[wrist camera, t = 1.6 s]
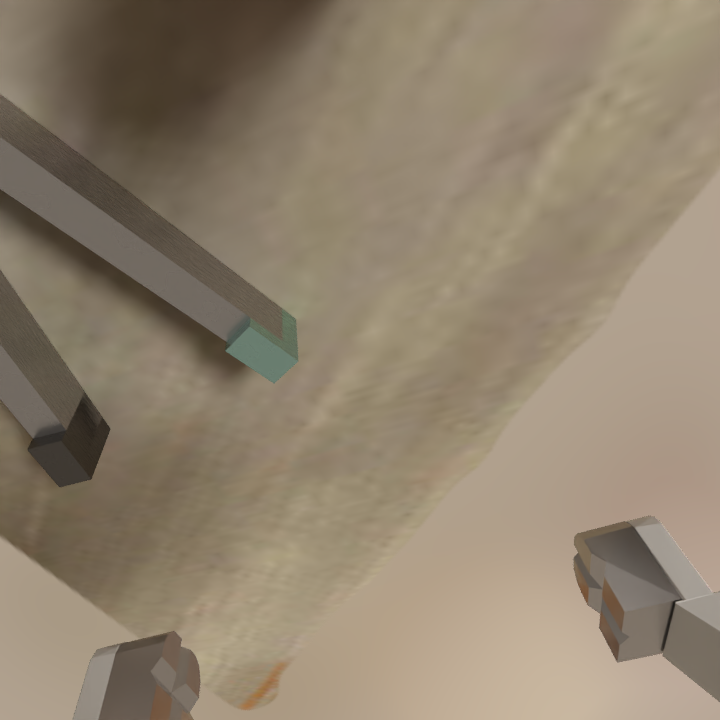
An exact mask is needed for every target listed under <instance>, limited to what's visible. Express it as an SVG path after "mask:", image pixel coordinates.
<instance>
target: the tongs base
mask: <svg viewBox="0 0 720 720" xmlns="http://www.w3.org/2000/svg"><path fill="white" fill-rule="evenodd" d="M0 399H1V401H2V402H3V403H4V404H5V405H6V407H7V408H8V409H9V410H10V411H11V413H12V414H13V415H14V416H15V417H16V419H17V420H18V421H19V422H20V423H21V425H22V426H23V427H24V428H25V429H26V431H27V432H28V433H29V434H30V435H31V437H32V438H33V440H32V442H31V443H30V445H29V447H28V449H27V450H28V451H29V452H30V453H31V455H32V456H33V457H34V458H35V459H36V460H37V462H38V463H39V464H40V465H41V466H42V467H43V469H44V470H45V471H46V472H47V473H48V474H49V476H50V477H51V478H52V479H53V480H54V482H55V483H56V484H57V485H58V486H59V487H63V486H67V485H71V484H75V483H79V482H83V481H87V480H91V479H92V476H93V474H94V471H95V468H96V466H97V463H98V460H99V458H100V455H101V452H102V450H103V447H104V445H105V442H106V439H107V437H108V434H109V431H110V428H109V426H108V425H107V423H106V422H105V421H104V419H103V418H102V416H101V415H100V413H99V412H98V410H97V409H96V408H95V406H94V405H93V403H92V402H91V400H90V399H89V398H88V396H87V395H86V393H85V392H84V390H83V389H82V387H81V386H80V385H79V383H78V382H77V380H76V379H75V377H74V376H73V374H72V373H71V372H70V370H69V369H68V367H67V366H66V364H65V363H64V362H63V360H62V359H61V357H60V356H59V354H58V353H57V351H56V350H55V349H54V347H53V346H52V344H51V343H50V341H49V340H48V338H47V337H46V336H45V334H44V333H43V331H42V330H41V328H40V327H39V326H38V324H37V323H36V321H35V320H34V318H33V317H32V315H31V314H30V313H29V311H28V310H27V308H26V307H25V305H24V304H23V303H22V301H21V300H20V298H19V297H18V295H17V294H16V292H15V291H14V290H13V288H12V287H11V285H10V284H9V282H8V281H7V279H6V278H5V277H4V275H3V274H2V272H1V271H0Z"/></svg>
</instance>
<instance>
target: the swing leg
mask: <svg viewBox="0 0 720 720" xmlns="http://www.w3.org/2000/svg"><path fill="white" fill-rule="evenodd" d="M0 189H1V190H2V191H4V192H5V193H7V194H8V195H10V196H11V197H13V198H14V199H16V200H17V201H19V202H20V203H22V204H23V205H25V206H26V207H27V208H29V209H30V210H32V211H33V212H35V213H36V214H38V215H39V216H41V217H42V218H44V219H45V220H47V221H48V222H50V223H51V224H53V225H54V226H56V227H57V228H59V229H60V230H62V231H63V232H65V233H66V234H67V235H69V236H70V237H72V238H73V239H75V240H76V241H78V242H79V243H81V244H82V245H84V246H85V247H87V248H88V249H90V250H91V251H93V252H94V253H96V254H97V255H99V256H100V257H102V258H103V259H105V260H106V261H107V262H109V263H110V264H112V265H113V266H115V267H116V268H118V269H119V270H121V271H122V272H124V273H125V274H127V275H128V276H130V277H131V278H133V279H134V280H136V281H137V282H139V283H140V284H142V285H143V286H145V287H146V288H147V289H149V290H150V291H152V292H153V293H155V294H156V295H158V296H159V297H161V298H162V299H164V300H165V301H167V302H168V303H170V304H171V305H173V306H174V307H176V308H177V309H179V310H180V311H182V312H183V313H185V314H186V315H187V316H189V317H190V318H192V319H193V320H195V321H196V322H198V323H199V324H201V325H202V326H204V327H205V328H207V329H208V330H210V331H211V332H213V333H214V334H216V335H217V336H219V337H220V338H222V339H223V340H225V341H226V349H225V351H226V352H227V353H229V354H230V355H232V356H233V357H235V358H236V359H238V360H239V361H241V362H242V363H244V364H245V365H247V366H248V367H250V368H251V369H253V370H254V371H256V372H257V373H259V374H260V375H262V376H264V377H265V378H267V379H268V380H270V381H271V382H273V383H275V382H276V381H277V380H279V379H280V378H281V377H282V376H283V375H284V374H285V373H286V372H287V371H288V370H289V369H290V368H292V367H293V366H294V365H295V364H296V363H297V362H298V347H297V329H296V319H295V318H293V317H292V316H291V315H289V314H288V313H287V312H285V311H284V310H283V309H282V308H280V307H279V306H278V305H276V304H275V303H274V302H272V301H271V300H270V299H268V298H267V297H266V296H264V295H263V294H262V293H260V292H259V291H258V290H257V289H255V288H254V287H253V286H251V285H250V284H249V283H247V282H246V281H245V280H243V279H242V278H241V277H239V276H238V275H237V274H236V273H234V272H233V271H232V270H230V269H229V268H228V267H226V266H225V265H224V264H222V263H221V262H220V261H218V260H217V259H216V258H214V257H213V256H212V255H211V254H209V253H208V252H207V251H205V250H204V249H203V248H201V247H200V246H199V245H197V244H196V243H195V242H193V241H192V240H191V239H190V238H188V237H187V236H186V235H184V234H183V233H182V232H180V231H179V230H178V229H176V228H175V227H174V226H172V225H171V224H170V223H168V222H167V221H166V220H165V219H163V218H162V217H161V216H159V215H158V214H157V213H155V212H154V211H153V210H151V209H150V208H149V207H147V206H146V205H145V204H144V203H142V202H141V201H140V200H138V199H137V198H136V197H134V196H133V195H132V194H130V193H129V192H128V191H126V190H125V189H124V188H122V187H121V186H120V185H119V184H117V183H116V182H115V181H113V180H112V179H111V178H109V177H108V176H107V175H105V174H104V173H103V172H101V171H100V170H99V169H98V168H96V167H95V166H94V165H92V164H91V163H90V162H88V161H87V160H86V159H84V158H83V157H82V156H80V155H79V154H78V153H76V152H75V151H74V150H73V149H71V148H70V147H69V146H67V145H66V144H65V143H63V142H62V141H61V140H59V139H58V138H57V137H55V136H54V135H53V134H52V133H50V132H49V131H48V130H46V129H45V128H44V127H42V126H41V125H40V124H38V123H37V122H36V121H34V120H33V119H32V118H31V117H29V116H28V115H27V114H25V113H24V112H23V111H21V110H20V109H19V108H17V107H16V106H15V105H13V104H12V103H11V102H9V101H8V100H7V99H6V98H4V97H3V96H2V95H0Z"/></svg>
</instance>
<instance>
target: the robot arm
mask: <svg viewBox="0 0 720 720" xmlns="http://www.w3.org/2000/svg"><path fill="white" fill-rule="evenodd" d="M574 545H575V547H576V549H577V551H578V554H577V555H576V556H575V557H574V571H575V575H576V579H577V583H578V585H579V588H580V590H581V593H582V594H583V597H584V599H585V601H586V602H587V605H588V606H590V607H592V608H593V609H594V610H595V611H597V612H598V613H600V624H599V628H600V630H601V632H602V634H603V636H604V638H605V640H606V642H607V644H608V646H609V647H610V649H611V651H612V653H613V655H614V657H615V659H616V661H617V662H622V661H627V660H632V659H637V658H641V657H647V656H652V655H656V654H661V653H663V657H665V658H666V659H667V660H668V661H670V662H671V663H672V664H673V665H674V666H676V667H677V668H678V669H679V670H681V671H682V672H683V673H684V674H686V675H687V676H688V677H689V678H691V679H692V680H693V681H694V682H695V683H697V684H698V685H699V686H701V687H702V688H703V689H704V690H705V691H707V692H708V693H709V694H710V695H712V696H713V697H714V698H715V699H717V700H718V701H719V702H720V591H719V592H714V593H713V591H712V590H711V589H710V588H709V586H708V585H707V583H706V582H705V581H704V579H703V578H702V577H701V575H700V574H699V573H698V571H697V570H696V569H695V567H694V566H693V565H692V563H691V562H690V561H689V559H688V558H687V557H686V555H685V554H684V553H683V551H682V550H681V549H680V547H679V546H678V544H677V543H676V542H675V541H674V539H673V538H672V536H671V535H670V534H669V533H668V531H667V530H666V528H665V527H664V526H663V524H662V523H661V522H660V520H658V519H656V518H655V517H654V516H646V517H642V518H638V519H634V520H630V521H626V522H625V521H624V522H620V523H616V524H612V525H609V526H605V527H601V528H597V529H593V530H589V531H586V532H582V533H578V534H577V535H576V536H575V537H574ZM181 641H182V639H181V637H180V636H179V635H178V634H177V633H176V632H175V631H172V632H168V633H164V634H160V635H156V636H151V637H147V638H143V639H139V640H135V641H131V642H125V643H120V644H117V645H112V646H108V647H104V648H101V649H98V650H96V652H95V653H94V655H93V657H92V658H91V660H90V663H89V666H88V669H87V673H86V676H85V679H84V683H83V686H82V689H81V693H80V696H79V700H78V703H77V706H76V710H75V713H74V717H73V720H194V719H193V718H192V716H191V714H190V711H191V709H192V708H193V706H194V705H195V703H196V701H197V700H198V698H199V691H200V671H199V664H198V661H197V659H196V656H195V655H194V653H193V652H192V651H191V650H190V649H187V648H184V647H181Z"/></svg>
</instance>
